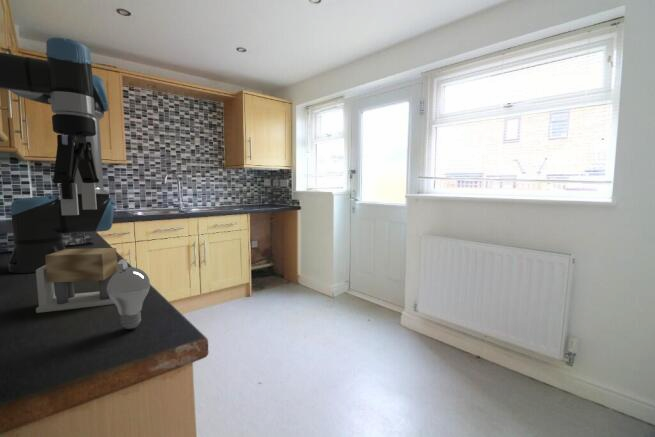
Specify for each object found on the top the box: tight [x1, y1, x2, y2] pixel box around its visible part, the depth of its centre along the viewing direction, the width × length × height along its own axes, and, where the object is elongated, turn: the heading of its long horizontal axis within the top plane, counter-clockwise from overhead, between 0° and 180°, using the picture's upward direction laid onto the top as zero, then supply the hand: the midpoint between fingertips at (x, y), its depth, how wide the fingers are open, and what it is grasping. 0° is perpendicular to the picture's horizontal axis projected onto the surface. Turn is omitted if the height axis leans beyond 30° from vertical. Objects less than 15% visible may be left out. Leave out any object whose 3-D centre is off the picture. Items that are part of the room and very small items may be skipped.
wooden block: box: [45, 247, 118, 283], centre depth 73 cm, size 11×7×6 cm, turn 101°
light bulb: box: [107, 266, 151, 331], centre depth 60 cm, size 7×7×12 cm
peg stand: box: [35, 258, 128, 314], centre depth 74 cm, size 8×16×9 cm, turn 113°
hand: (81, 212), depth 72 cm, fingers open, 13 cm apart
